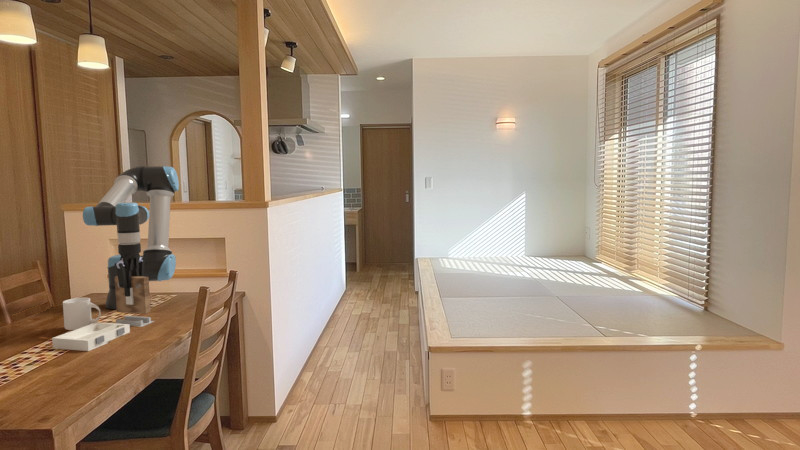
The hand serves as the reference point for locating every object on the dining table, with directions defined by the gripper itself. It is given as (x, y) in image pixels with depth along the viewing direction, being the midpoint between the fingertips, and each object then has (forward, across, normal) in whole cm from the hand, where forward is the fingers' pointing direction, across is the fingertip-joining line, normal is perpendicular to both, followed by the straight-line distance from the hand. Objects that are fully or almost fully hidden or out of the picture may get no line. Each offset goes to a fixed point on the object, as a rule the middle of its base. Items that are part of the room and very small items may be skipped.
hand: (133, 302), depth 183 cm
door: (+4, 0, 0) cm, 4 cm away
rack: (+8, +1, 0) cm, 8 cm away
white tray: (+8, +20, 0) cm, 21 cm away
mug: (+9, +8, -16) cm, 19 cm away
